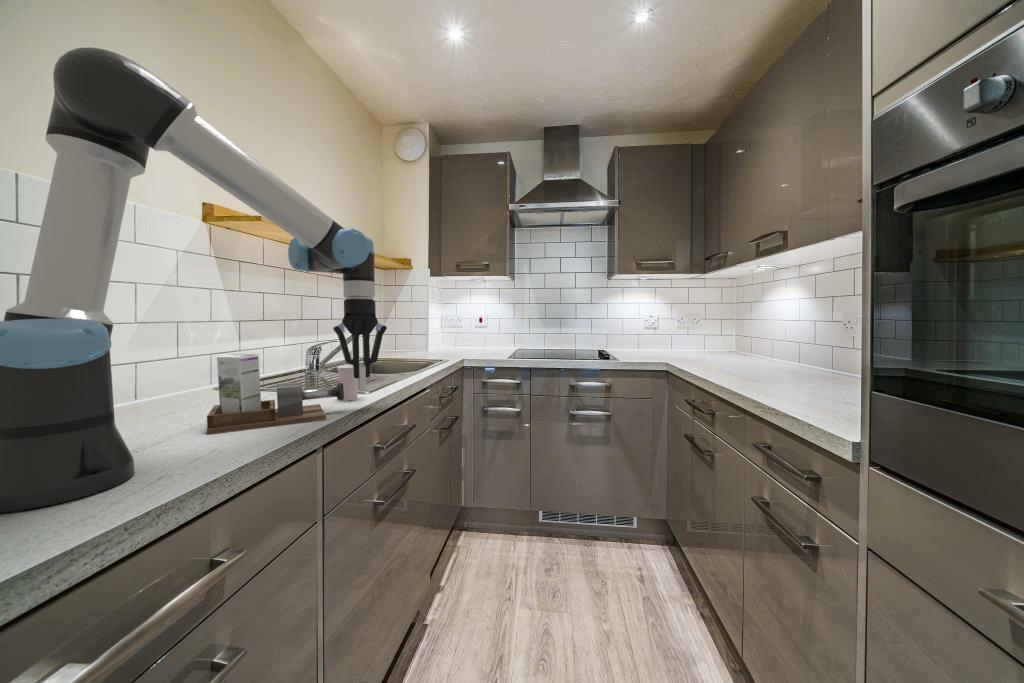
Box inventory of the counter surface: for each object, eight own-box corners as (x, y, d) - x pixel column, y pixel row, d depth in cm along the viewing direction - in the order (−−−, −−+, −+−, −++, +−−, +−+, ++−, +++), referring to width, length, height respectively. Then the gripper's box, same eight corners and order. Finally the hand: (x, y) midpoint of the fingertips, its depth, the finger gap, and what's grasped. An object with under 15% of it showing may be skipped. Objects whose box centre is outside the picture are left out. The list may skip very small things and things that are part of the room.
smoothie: (357, 401, 111) (355, 352, 110) (334, 402, 111) (332, 352, 110) (365, 397, 117) (363, 350, 117) (343, 397, 117) (341, 350, 116)
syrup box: (263, 415, 92) (260, 353, 91) (242, 422, 86) (238, 355, 85) (241, 415, 92) (238, 353, 92) (218, 421, 87) (215, 355, 86)
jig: (325, 419, 92) (324, 386, 91) (207, 434, 81) (205, 397, 80) (319, 407, 104) (318, 378, 103) (215, 419, 92) (213, 386, 92)
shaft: (344, 401, 98) (343, 383, 98) (282, 408, 91) (281, 389, 91) (341, 398, 102) (341, 381, 102) (282, 404, 95) (281, 386, 95)
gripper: (382, 299, 107) (384, 386, 109) (329, 298, 101) (332, 390, 102) (389, 298, 101) (391, 390, 102) (333, 297, 94) (336, 395, 96)
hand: (362, 390), depth 102 cm, fingers closed
